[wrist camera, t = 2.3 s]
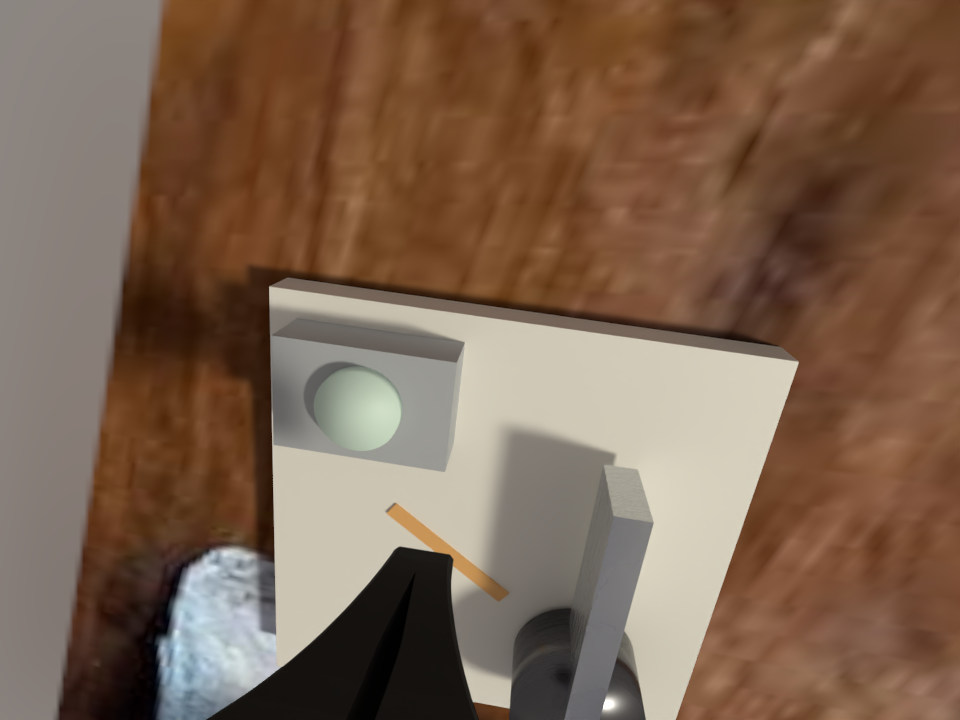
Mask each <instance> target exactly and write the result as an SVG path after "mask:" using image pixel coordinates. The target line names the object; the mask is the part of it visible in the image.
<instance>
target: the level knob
mask: <svg viewBox="0 0 960 720" xmlns="http://www.w3.org/2000/svg"><path fill="white" fill-rule="evenodd" d="M653 524H654V522H653V518H652V515H651V511H650V508H649V505H648V501H647V498H646V495H645V491H644V488H643V485H642V481H641V478H640V475H639V471H638V470H637V469H631V468H624V467H618V466H611V465H605V464H604V465H603V470H602V474H601V479H600V483H599V487H598V492H597V496H596V501H595V505H594V510H593V514H592V518H591V523H590V527H589V532H588V536H587V541H586V545H585V549H584V554H583V558H582V563H581V567H580V572H579V576H578V580H577V585H576V589H575V594H574V598H573V603H572V607H571V608H564V609H556V610H551V611H548V612H545V613H542V614H540V615H538V616H536V617H534V618H533V619H531V620H530V621H529V622H527V623H526V624H525V625H524V626H523V627H522V628H521V630H520V631H519V633H518V634H517V637H516V639H515V642H514V648H513V663H512V679H511V696H510V713H509V720H646V717H645V712H644V706H643V700H642V695H641V689H640V684H639V678H638V673H637V667H636V662H635V656H634V651H633V646H632V643H631V641H630V639H629V637H628V636H627V634H626V633H625V631H624V629H625V626H626V622H627V618H628V615H629V611H630V607H631V604H632V600H633V597H634V593H635V589H636V586H637V582H638V578H639V575H640V571H641V567H642V564H643V560H644V557H645V553H646V549H647V546H648V542H649V538H650V535H651V531H652V527H653Z"/></svg>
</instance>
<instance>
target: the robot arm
mask: <svg viewBox="0 0 960 720" xmlns="http://www.w3.org/2000/svg"><path fill="white" fill-rule="evenodd" d="M453 561H454V559H453V558H452V557H451V555H450V554H444V553H438V552H432V551H426V550H420V549H413V548H407V547H401V546H399V547H398V548H396V549H395V550H394V551H393V552H392V554H391V555H390V557H389V558H388V559H387V561H386V562H385V563H384V565H383V566H382V567H381V569H380V570H379V571H378V572H377V574H376V575H375V576H374V577H373V578H372V580H371V581H370V582H369V583H368V584H367V586H366V587H365V588H364V589H363V590H362V591H361V592H360V593H359V595H358V596H357V597H356V598H355V599H354V600H353V601H352V602H351V604H350V605H349V606H348V607H347V608H346V609H345V610H344V611H343V612H342V613H341V614H340V615H339V616H338V617H337V618H336V619H335V620H334V621H333V622H332V623H331V624H330V625H329V626H328V627H327V628H326V629H325V630H324V631H323V632H322V633H321V634H320V635H319V636H318V637H316V638H315V639H314V640H313V641H312V642H311V643H310V644H309V645H308V646H306V647H305V648H304V649H303V650H302V651H301V652H299V653H298V654H297V655H296V656H295V657H294V658H292V659H291V660H290V661H289V662H288V663H286V664H285V665H284V666H283V667H281V668H280V669H279V670H277V671H276V672H275V673H273V674H272V675H271V676H270V677H268V678H267V679H266V680H264V681H263V682H262V683H260V684H259V685H258V686H256V687H255V688H253V689H252V690H251V691H249V692H248V693H246V694H245V695H244V696H242V697H240V698H239V699H237V700H236V701H234V702H233V703H231V704H230V705H228V706H227V707H225V708H224V709H222V710H220V711H219V712H217V713H216V714H214V715H213V716H211V717H210V718H208V719H207V720H479V719H478V716H477V713H476V710H475V707H474V704H473V701H472V698H471V694H470V691H469V687H468V684H467V680H466V676H465V672H464V668H463V664H462V660H461V655H460V650H459V646H458V641H457V635H456V629H455V622H454V614H453V606H452V593H451V578H452V569H453Z"/></svg>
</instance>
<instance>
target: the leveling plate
mask: <svg viewBox="0 0 960 720" xmlns="http://www.w3.org/2000/svg"><path fill="white" fill-rule="evenodd" d="M269 305H270V354H271V402H272V451H273V499H274V548H275V597H276V645H277V666H280V667H283V666H284V665H285V664H286V663H288V662H289V661H290V660H291V659H292V658H294V657H295V656H296V655H297V654H298V653H299V652H301V651H302V650H303V649H304V648H305V647H306V646H308V645H309V644H310V643H311V642H312V641H313V640H314V639H315V638H316V637H318V636H319V635H320V634H321V633H322V632H323V631H324V630H325V629H326V628H327V627H328V626H329V625H330V624H331V623H332V622H333V621H334V620H335V619H336V618H337V617H338V616H339V615H340V614H341V613H342V612H343V611H344V610H345V609H346V608H347V607H348V606H349V605H350V604H351V602H352V601H353V600H354V599H355V598H356V597H357V596H358V595H359V593H360V592H361V591H362V590H363V589H364V588H365V587H366V586H367V584H368V583H369V582H370V581H371V580H372V578H373V577H374V576H375V575H376V574H377V572H378V571H379V570H380V569H381V567H382V566H383V565H384V563H385V562H386V561H387V559H388V558H389V557H390V555H391V554H392V552H393V551H394V550H395V549H396V548H398V547H399V546H401V547H407V548H413V549H420V550H426V551H432V552H438V553H444V554H450V555H451V557H452V558H453V559H454V561H453V569H452V578H451V593H452V606H453V614H454V622H455V629H456V635H457V641H458V646H459V650H460V655H461V660H462V664H463V668H464V672H465V676H466V680H467V684H468V687H469V691H470V694H471V698H472V701H473V702H477V703H483V704H488V705H494V706H499V707H505V708H510V696H511V679H512V663H513V648H514V642H515V639H516V637H517V634H518V633H519V631H520V630H521V628H522V627H523V626H524V625H525V624H526V623H527V622H529V621H530V620H531V619H533V618H534V617H536V616H538V615H540V614H542V613H545V612H548V611H551V610H556V609H564V608H571V607H572V603H573V598H574V594H575V589H576V585H577V580H578V576H579V572H580V567H581V563H582V558H583V554H584V549H585V545H586V541H587V536H588V532H589V527H590V523H591V518H592V514H593V510H594V505H595V501H596V496H597V492H598V487H599V483H600V479H601V474H602V470H603V465H604V464H605V465H611V466H618V467H624V468H631V469H637V470H638V471H639V475H640V478H641V481H642V485H643V488H644V491H645V495H646V498H647V501H648V505H649V508H650V511H651V515H652V518H653V522H654V524H653V527H652V531H651V535H650V538H649V542H648V546H647V549H646V553H645V557H644V560H643V564H642V567H641V571H640V575H639V578H638V582H637V586H636V589H635V593H634V597H633V600H632V604H631V607H630V611H629V615H628V618H627V622H626V626H625V629H624V631H625V633H626V634H627V636H628V637H629V639H630V641H631V643H632V646H633V651H634V656H635V662H636V667H637V673H638V678H639V684H640V689H641V695H642V700H643V706H644V712H645V717H646V720H676V717H677V714H678V711H679V708H680V705H681V703H682V700H683V697H684V694H685V691H686V688H687V685H688V682H689V679H690V676H691V674H692V671H693V668H694V665H695V662H696V659H697V656H698V653H699V650H700V647H701V645H702V642H703V639H704V636H705V633H706V630H707V627H708V624H709V621H710V618H711V616H712V613H713V610H714V607H715V604H716V601H717V598H718V595H719V592H720V589H721V587H722V584H723V581H724V578H725V575H726V572H727V569H728V566H729V563H730V560H731V558H732V555H733V552H734V549H735V546H736V543H737V540H738V537H739V534H740V531H741V529H742V526H743V523H744V520H745V517H746V514H747V511H748V508H749V505H750V502H751V500H752V497H753V494H754V491H755V488H756V485H757V482H758V479H759V476H760V473H761V471H762V468H763V465H764V462H765V459H766V456H767V453H768V450H769V447H770V444H771V442H772V439H773V436H774V433H775V430H776V427H777V424H778V421H779V418H780V415H781V413H782V410H783V407H784V404H785V401H786V398H787V395H788V392H789V389H790V386H791V384H792V381H793V378H794V375H795V372H796V369H797V366H798V363H799V361H797V360H796V359H795V358H794V357H792V356H791V355H790V354H789V353H788V352H786V351H785V350H784V349H783V348H781V347H777V346H770V345H763V344H756V343H749V342H742V341H735V340H728V339H721V338H713V337H706V336H699V335H692V334H685V333H678V332H671V331H664V330H657V329H650V328H643V327H635V326H628V325H621V324H614V323H607V322H600V321H593V320H586V319H579V318H572V317H564V316H557V315H550V314H543V313H536V312H529V311H522V310H515V309H508V308H501V307H493V306H486V305H479V304H472V303H465V302H458V301H451V300H444V299H437V298H430V297H423V296H415V295H408V294H401V293H394V292H387V291H380V290H373V289H366V288H359V287H352V286H344V285H337V284H330V283H323V282H316V281H309V280H302V279H295V278H285V279H283V280H281V281H279V282H277V283H275V284H273V285H271V286H269Z"/></svg>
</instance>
